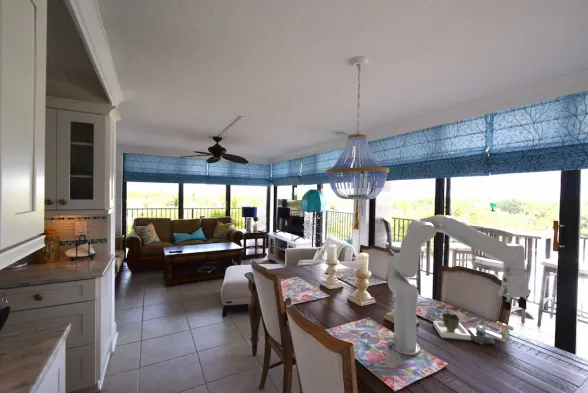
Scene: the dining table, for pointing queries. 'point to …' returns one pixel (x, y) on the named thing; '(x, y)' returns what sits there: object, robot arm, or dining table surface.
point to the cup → (450, 321)
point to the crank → (500, 337)
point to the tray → (458, 334)
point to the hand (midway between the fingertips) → (514, 308)
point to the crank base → (480, 337)
